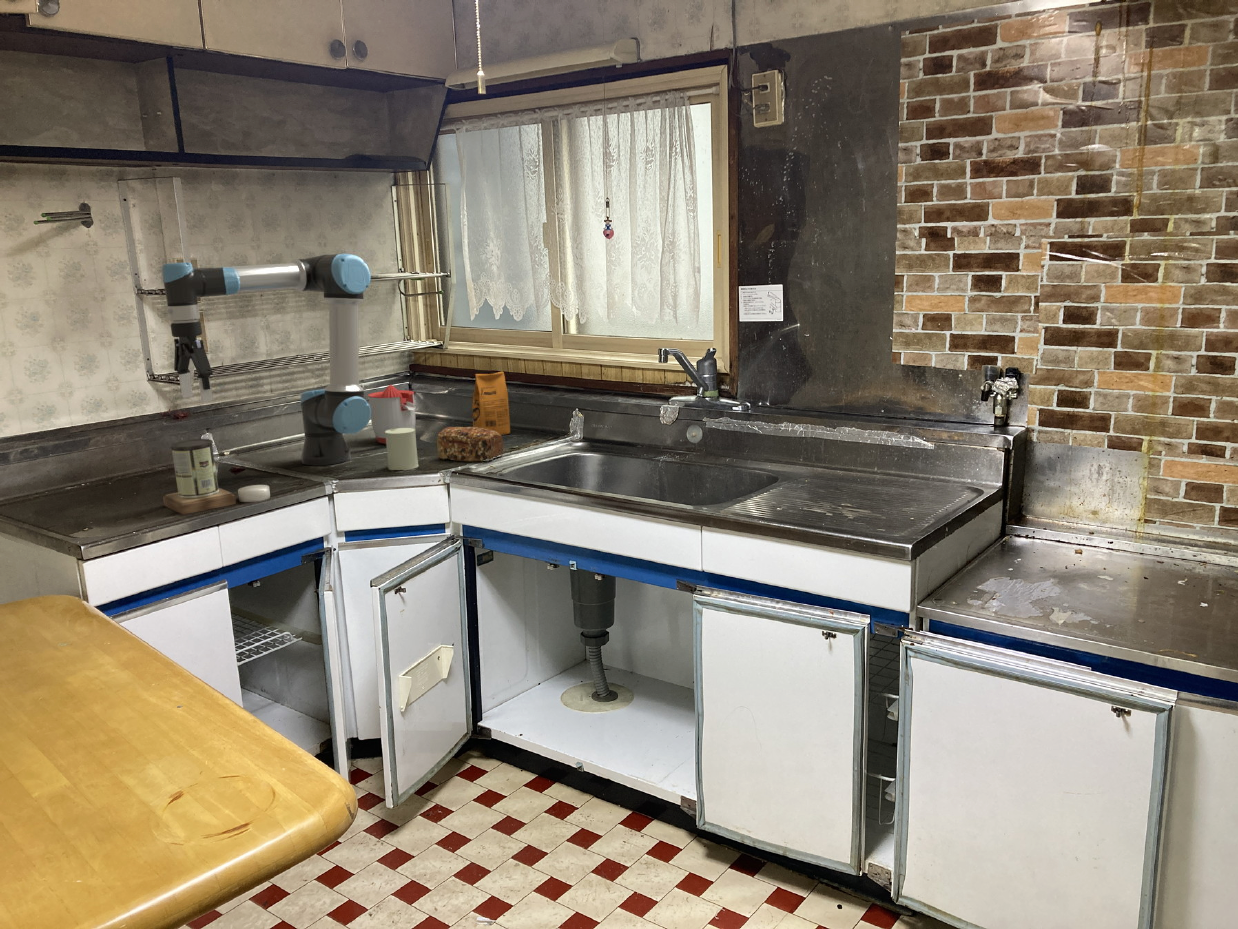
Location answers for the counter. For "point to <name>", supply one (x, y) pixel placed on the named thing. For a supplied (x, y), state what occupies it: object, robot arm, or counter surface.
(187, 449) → the coffee can
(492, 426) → the coffee package
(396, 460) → the pale green cylinder
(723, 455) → the counter surface
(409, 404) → the citrus juicer
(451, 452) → the bread
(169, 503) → the plinth
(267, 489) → the white rounded flat block
